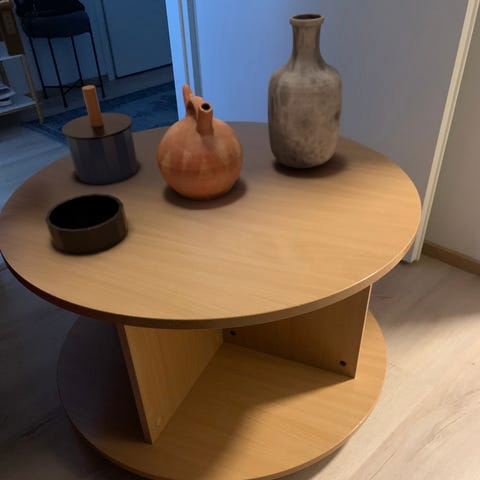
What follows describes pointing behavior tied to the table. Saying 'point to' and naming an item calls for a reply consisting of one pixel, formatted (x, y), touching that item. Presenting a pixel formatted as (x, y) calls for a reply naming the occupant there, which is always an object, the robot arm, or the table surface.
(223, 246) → the table surface
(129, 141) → the pot
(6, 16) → the robot arm
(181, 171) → the jug
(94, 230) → the pan
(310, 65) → the vase
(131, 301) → the table surface
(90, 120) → the lid
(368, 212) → the table surface
